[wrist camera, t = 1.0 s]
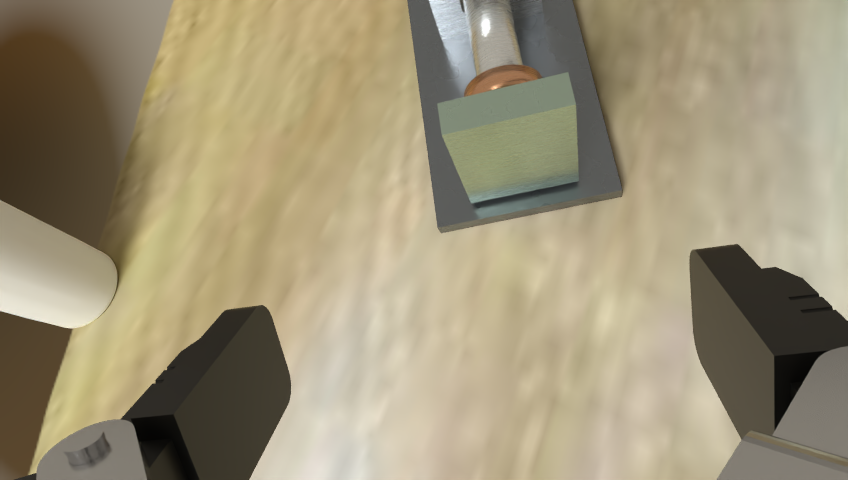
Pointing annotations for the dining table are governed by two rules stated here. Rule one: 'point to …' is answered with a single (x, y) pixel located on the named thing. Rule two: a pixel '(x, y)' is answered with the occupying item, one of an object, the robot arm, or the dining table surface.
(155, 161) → the dining table surface
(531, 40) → the bearing block
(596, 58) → the dining table surface
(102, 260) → the mug
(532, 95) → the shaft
